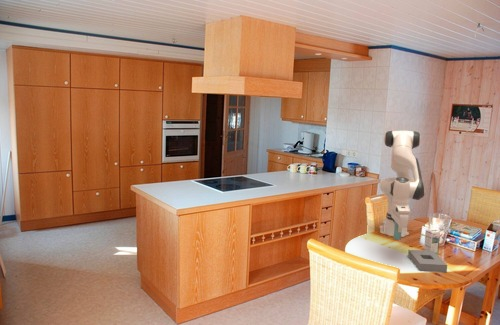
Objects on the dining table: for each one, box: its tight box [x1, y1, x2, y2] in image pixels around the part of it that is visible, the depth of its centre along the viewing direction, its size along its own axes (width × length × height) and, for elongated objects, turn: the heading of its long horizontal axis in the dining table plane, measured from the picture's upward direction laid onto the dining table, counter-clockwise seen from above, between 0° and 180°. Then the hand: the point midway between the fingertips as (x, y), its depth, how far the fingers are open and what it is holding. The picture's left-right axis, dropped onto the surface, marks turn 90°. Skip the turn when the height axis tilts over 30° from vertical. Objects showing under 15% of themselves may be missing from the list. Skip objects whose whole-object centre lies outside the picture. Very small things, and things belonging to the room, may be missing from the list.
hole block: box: [407, 249, 448, 273], centre depth 218 cm, size 20×14×4 cm
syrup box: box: [423, 228, 441, 256], centre depth 232 cm, size 6×6×14 cm
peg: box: [393, 222, 402, 241], centre depth 223 cm, size 4×4×10 cm
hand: (397, 230), depth 223 cm, fingers closed on peg, 4 cm apart
